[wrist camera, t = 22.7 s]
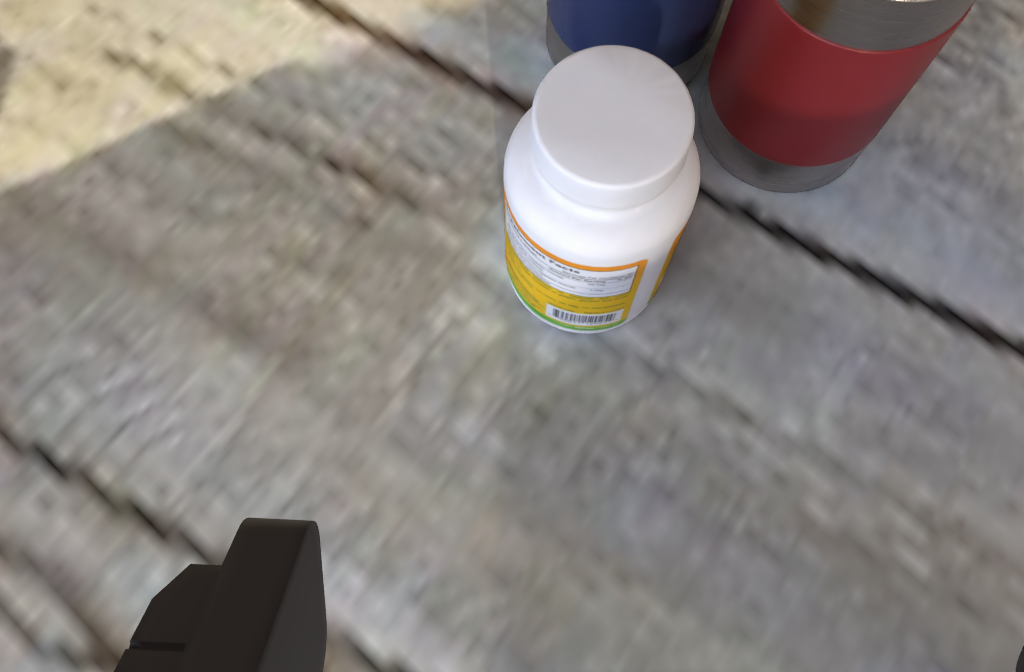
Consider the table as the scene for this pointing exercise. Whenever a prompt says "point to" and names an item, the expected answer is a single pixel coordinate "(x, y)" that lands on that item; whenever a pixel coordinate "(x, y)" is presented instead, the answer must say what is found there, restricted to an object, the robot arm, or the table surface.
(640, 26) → the navy tin
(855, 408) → the table surface
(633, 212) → the supplement bottle
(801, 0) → the burgundy tin
